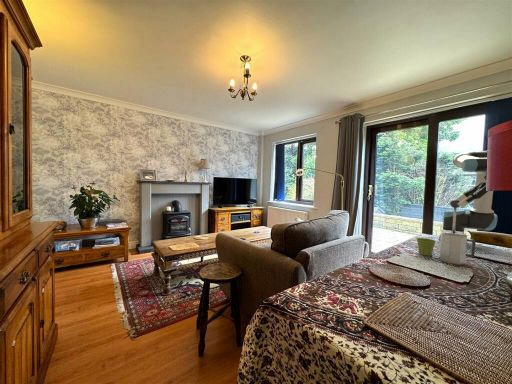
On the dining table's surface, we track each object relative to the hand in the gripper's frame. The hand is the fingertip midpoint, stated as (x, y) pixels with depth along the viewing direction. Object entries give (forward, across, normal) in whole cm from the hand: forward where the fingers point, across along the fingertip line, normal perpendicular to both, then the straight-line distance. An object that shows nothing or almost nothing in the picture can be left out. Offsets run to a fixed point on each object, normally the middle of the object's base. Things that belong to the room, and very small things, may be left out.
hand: (456, 204), depth 116 cm
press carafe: (+21, 0, +23) cm, 31 cm away
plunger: (+13, 0, +13) cm, 18 cm away
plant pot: (+30, -6, +14) cm, 34 cm away
